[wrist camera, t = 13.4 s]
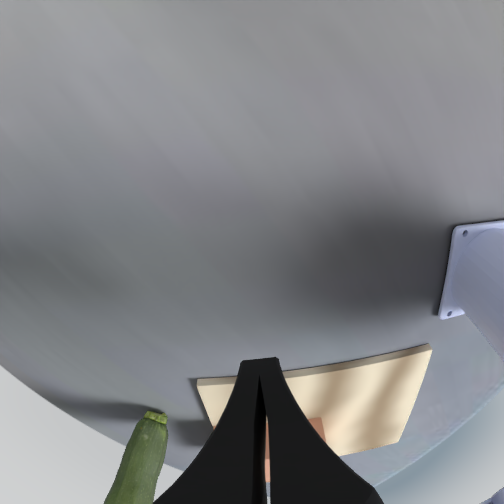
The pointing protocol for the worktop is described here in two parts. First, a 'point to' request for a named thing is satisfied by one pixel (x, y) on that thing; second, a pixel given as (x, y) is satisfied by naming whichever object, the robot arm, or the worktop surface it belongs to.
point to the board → (346, 397)
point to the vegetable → (141, 462)
